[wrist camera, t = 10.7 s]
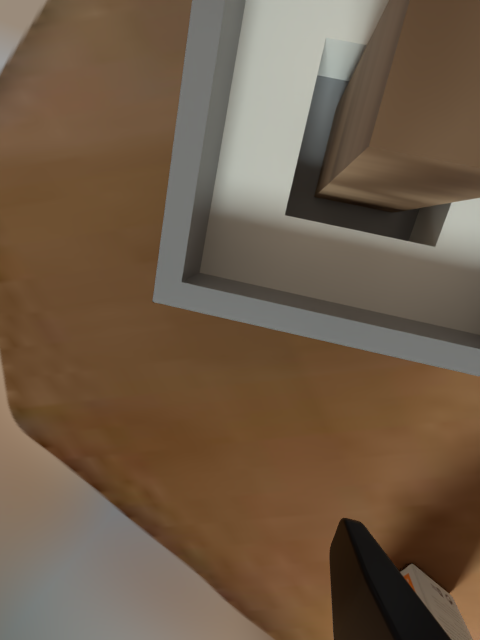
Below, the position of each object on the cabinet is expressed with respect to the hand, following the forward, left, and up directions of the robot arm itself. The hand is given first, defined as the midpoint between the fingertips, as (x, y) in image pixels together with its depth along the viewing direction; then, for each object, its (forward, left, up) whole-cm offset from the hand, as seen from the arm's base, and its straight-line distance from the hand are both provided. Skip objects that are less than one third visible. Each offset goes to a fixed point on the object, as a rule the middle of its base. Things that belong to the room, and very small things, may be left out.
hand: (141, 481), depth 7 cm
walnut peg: (+5, -10, -12) cm, 16 cm away
